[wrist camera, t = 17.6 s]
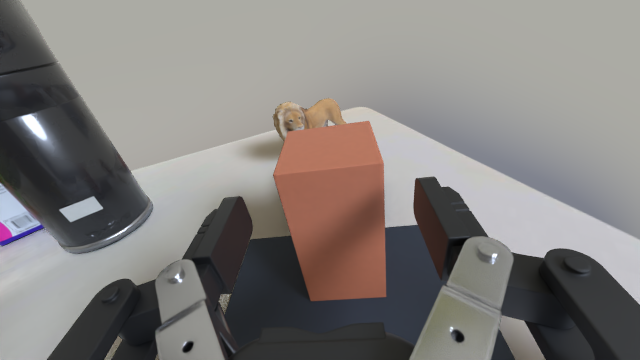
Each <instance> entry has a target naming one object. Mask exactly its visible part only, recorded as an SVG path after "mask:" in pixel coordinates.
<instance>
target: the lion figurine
mask: <svg viewBox="0 0 640 360" xmlns="http://www.w3.org/2000/svg"><path fill="white" fill-rule="evenodd" d="M273 119H274V126H275V127H276V130H277V132H278V133H279V136H280V137H281V138H282V139H283V140H284V141H285V139H286V136H287V133H288V132H289V131H296V130H304V129H311V128H319V127H327V126H328V124H327V123H328V120H330V121H332V122H333V123H334V124H335V125H342V124H347V123H346V122H345V121H344V120H343V119H342V116H341V112H340V109H339V106H338V104H337V103H336V102H335V101H334V100H333V99H324V100H320V101H318V102H317V103H316V104H315V105H314V106H312V107H311V108H309V109H304V108H302V107H301V106H298V105H296V104H294V103H291V102H285V103H283V104H280V105H279V106H278V107H277V108H276V109H275V114H274V115H273Z"/></svg>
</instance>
